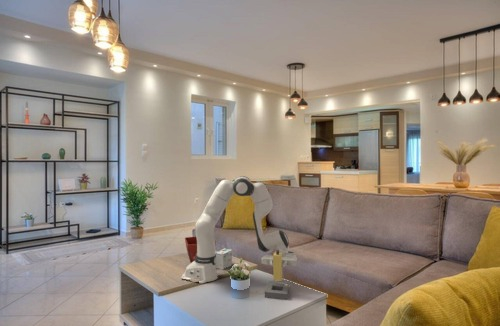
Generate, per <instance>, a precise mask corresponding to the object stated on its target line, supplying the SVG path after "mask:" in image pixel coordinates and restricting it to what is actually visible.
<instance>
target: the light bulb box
mask: <svg viewBox="0 0 500 326" xmlns="http://www.w3.org/2000/svg"><path fill="white" fill-rule="evenodd" d="M215 254H216V267H217V268H216V269H218V268H221V269H220V270H222V269H224V268H225V269H227V268H230V267H231V266H233V249H230V248H225V247H224V248H222V249H221V250H218V251H215ZM226 267H227V268H226ZM225 269H224V270H225Z"/></svg>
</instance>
